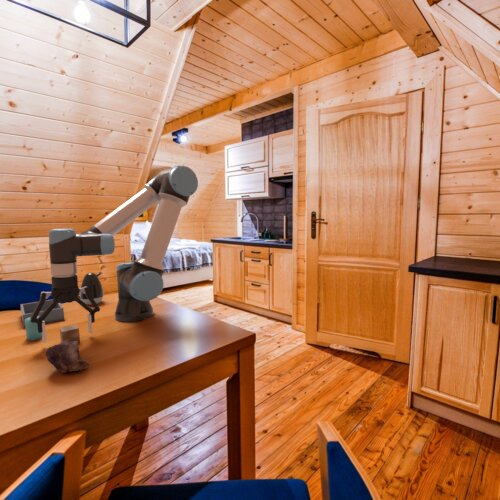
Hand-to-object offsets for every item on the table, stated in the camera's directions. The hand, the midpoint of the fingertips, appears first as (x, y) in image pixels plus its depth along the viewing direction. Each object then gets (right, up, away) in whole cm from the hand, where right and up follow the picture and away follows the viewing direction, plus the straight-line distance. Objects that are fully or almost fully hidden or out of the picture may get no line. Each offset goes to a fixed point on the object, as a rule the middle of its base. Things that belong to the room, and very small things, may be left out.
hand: (68, 336), depth 106 cm
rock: (+10, -4, -18) cm, 21 cm away
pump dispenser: (-14, +3, +45) cm, 47 cm away
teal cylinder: (-14, -2, +5) cm, 15 cm away
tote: (-25, +1, +25) cm, 36 cm away
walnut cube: (0, -2, +1) cm, 2 cm away
